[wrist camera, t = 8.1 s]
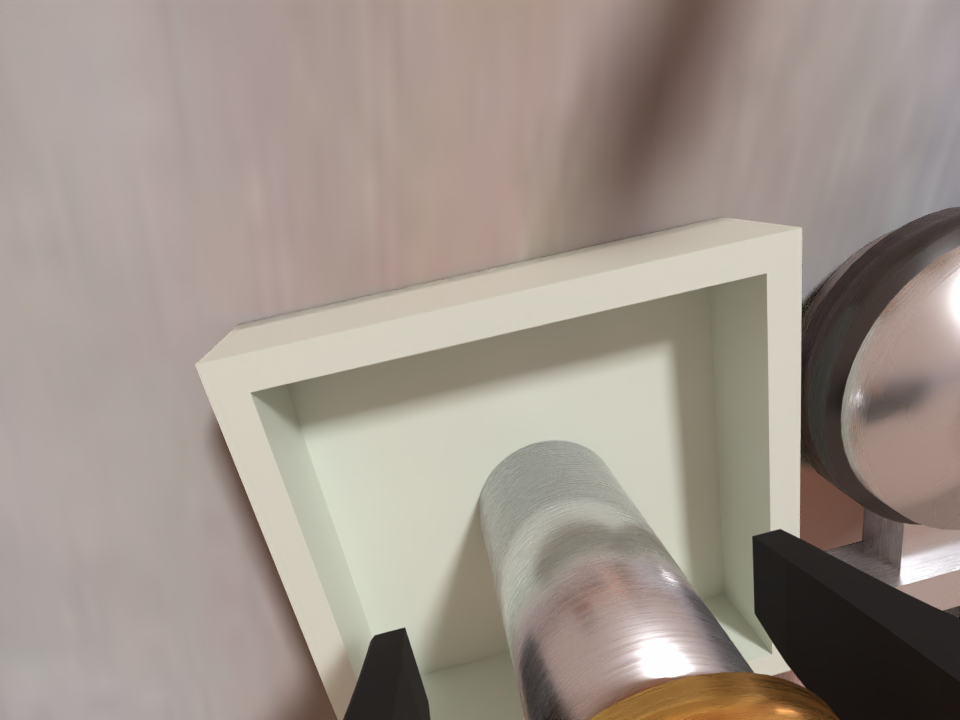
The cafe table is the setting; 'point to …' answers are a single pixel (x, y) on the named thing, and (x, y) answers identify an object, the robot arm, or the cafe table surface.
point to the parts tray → (517, 436)
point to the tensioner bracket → (891, 404)
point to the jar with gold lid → (609, 604)
